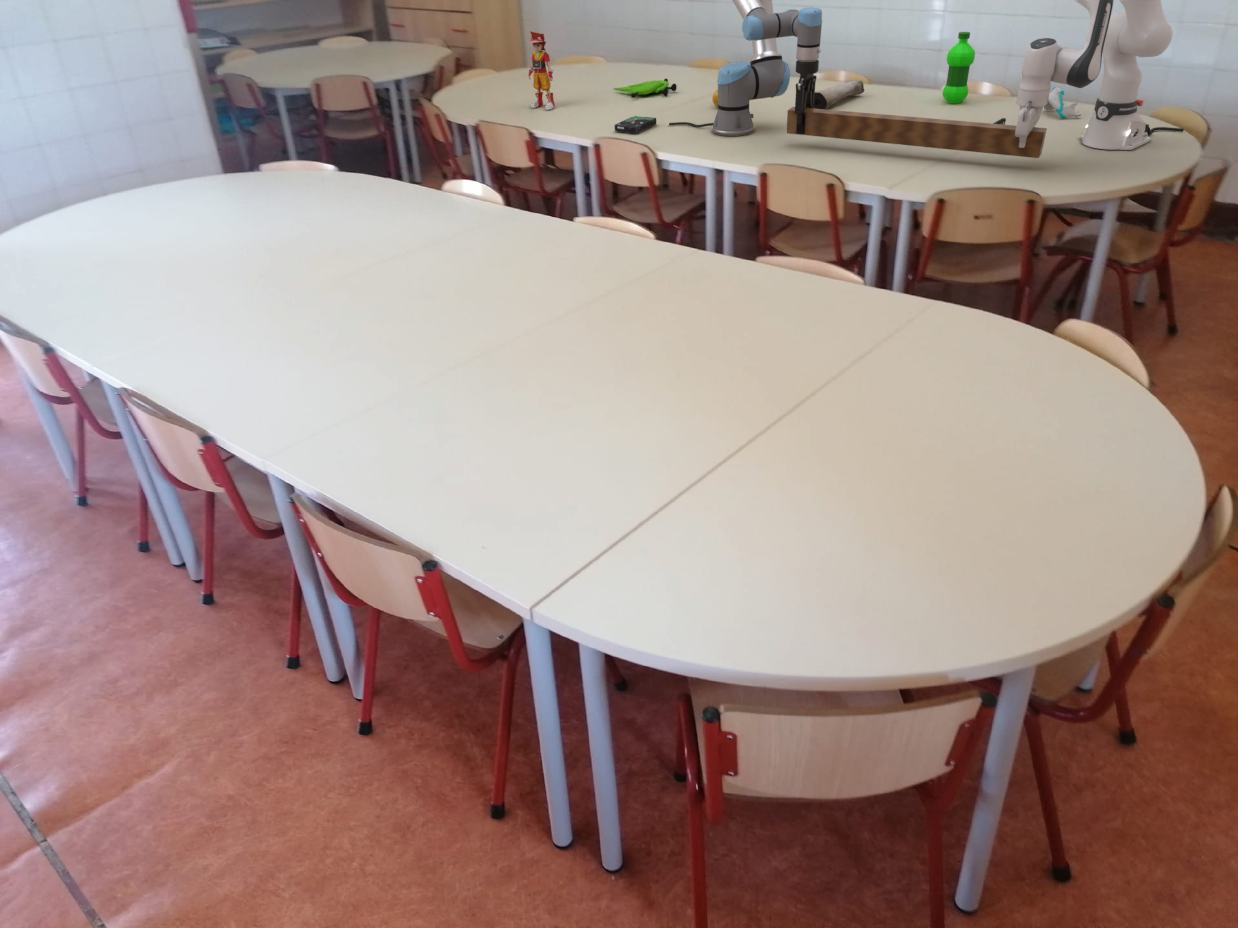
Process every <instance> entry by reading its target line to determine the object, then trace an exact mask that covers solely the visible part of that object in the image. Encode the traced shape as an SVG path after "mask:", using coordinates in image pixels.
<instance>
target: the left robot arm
mask: <svg viewBox="0 0 1238 928" xmlns="http://www.w3.org/2000/svg"><path fill="white" fill-rule="evenodd" d="M732 2H733V4H734V5H735V7H736V9H737V11H738V13H739V14H740V17H741V18H742V24H741V25H742V26H741V31H742V35H743V37H744V39H745V40H747V41H750V42H751V43H752V52H753V53H752V54H753V56H752V58H751V60H750V61H734V62H730V63H727V64H724V65H723V66H721V67H720V68H719V70H718V75H717V82H716V83H717V90H718V107H717V111H716V114H715V118H714V120H713V122H708V123H703V124H695V123H692V122H688V121H683V122H682V121H678V122H668V126H677V125H678V126H681V125H682V126H683V125H684V126H685V125H686V126H691V127H693V128H704V127H711V126H712V133H713V134H715V135H717V136H721V137H741V136H746V135H750V134H752V133H754V127H755V126H754V122H753V119H754V113H751V111H750V101H754V100H760V99H768V98H771V99H772V98H775V97H780V96H783V95H784V94H785V93H786V92H787V90H788V87H789V85H790V81H791V69H790V65H789V63H788V62H787V61H785V60H783V55H782V54H781V53H779V52H778V45H777V39H779V38H787V37H794V38H795V37H796V39H797V41H796V43H797V45H796V55H795V58H796V61H795V72H796V73H797V74H799V79H798V83H795V101H794V102H795V104H794V107H795V114H797V127H796V133H800V134H804V129H805V114H804V113H805V108H814V107H812V106H814V97H815V92H816V83H817V82H816V81H817V75H814V74H816V73H818V72H819V68H820V67H819V65H820V60H819V58H820V54H821V52H822V49H820V48H821V38H822V25H823V11H822V9H821V8H820V7H813V6H812V7H811V6H810V7H802V8H800V9H799V10H798V9H787V10H785V11H782V12H774V5H773V0H732Z"/></svg>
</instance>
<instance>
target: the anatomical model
mask: <svg viewBox="0 0 1238 928" xmlns="http://www.w3.org/2000/svg"><path fill="white" fill-rule="evenodd" d="M1064 95H1065V91H1064V89H1063V90H1061V88H1060V87H1053V88H1052V90H1051V91H1050V93H1049V98H1048V103H1047V105H1045V106H1043V109H1044V110H1046V111H1053V110H1055V112H1057V115H1058V116H1059V118H1060V119H1068V118H1071V117H1075V118H1077V117H1081V115H1082V113H1081V112H1076V110H1075V108H1076V106H1077V105H1078V104H1079V103H1078V102H1072V103H1071V104H1069V105H1065V103H1066V102H1064V98H1063V96H1064Z"/></svg>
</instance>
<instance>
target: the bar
mask: <svg viewBox="0 0 1238 928" xmlns="http://www.w3.org/2000/svg"><path fill="white" fill-rule="evenodd" d="M804 114H805V129H804V134H800V133H796V127H797V114H795V106H792V107H790V108H789V109H787V113H786V115H787V116H786V134H789V135H799V136H800V135H801V136H809V137H819V138H820V137H821V138H829V139H841V140H849V141H859V142H871V143H879V144H880V143H881V144H891V145H899V146H910V147H911V146H912V147H920V148H921V147H922V148H931V149H942V150H951V151H962V152H971V153H983V154H993V155H1002V156H1011V157H1021V158H1022V157H1023V158H1032V159H1039V158H1040V157H1041V155H1042V153H1043V148H1044V144H1045V138H1046V135H1047V130H1048V128H1047V127H1037V126H1034V128H1033V129H1032V131H1031V132H1030V133H1029V135H1028V136H1027V140H1026V146H1025V147H1024V148H1020V147H1019V137H1016V136H1015V131H1016V126H1017V125H1015V124H1014V125H1013V124H1005V125H1003V124H993V123H992V122H991V123H989V122H980V121H979V122H978V121H966V120H953V119H943V118H942V119H941V118H929V117H921V116H920V117H919V116H908V115H895V114H894V115H893V114H885V113H884V114H883V113H873V112H872V113H871V112H859V111H847V110H835V109H814V108H805V113H804Z"/></svg>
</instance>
